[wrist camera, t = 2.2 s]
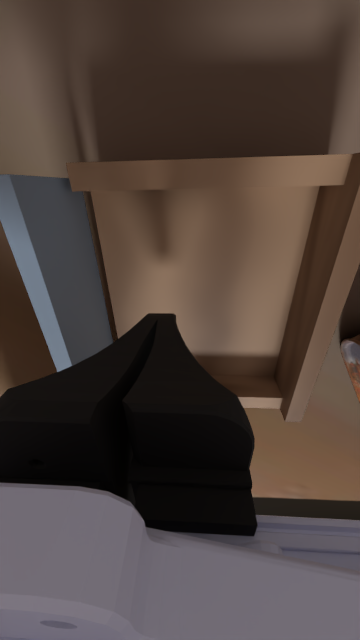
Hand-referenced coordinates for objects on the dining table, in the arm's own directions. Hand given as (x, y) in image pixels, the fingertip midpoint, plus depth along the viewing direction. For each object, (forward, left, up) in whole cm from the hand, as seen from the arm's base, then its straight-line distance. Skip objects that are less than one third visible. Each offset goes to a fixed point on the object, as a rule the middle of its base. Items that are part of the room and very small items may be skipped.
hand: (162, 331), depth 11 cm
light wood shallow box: (+2, 0, -5) cm, 6 cm away
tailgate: (-4, 0, -3) cm, 5 cm away
